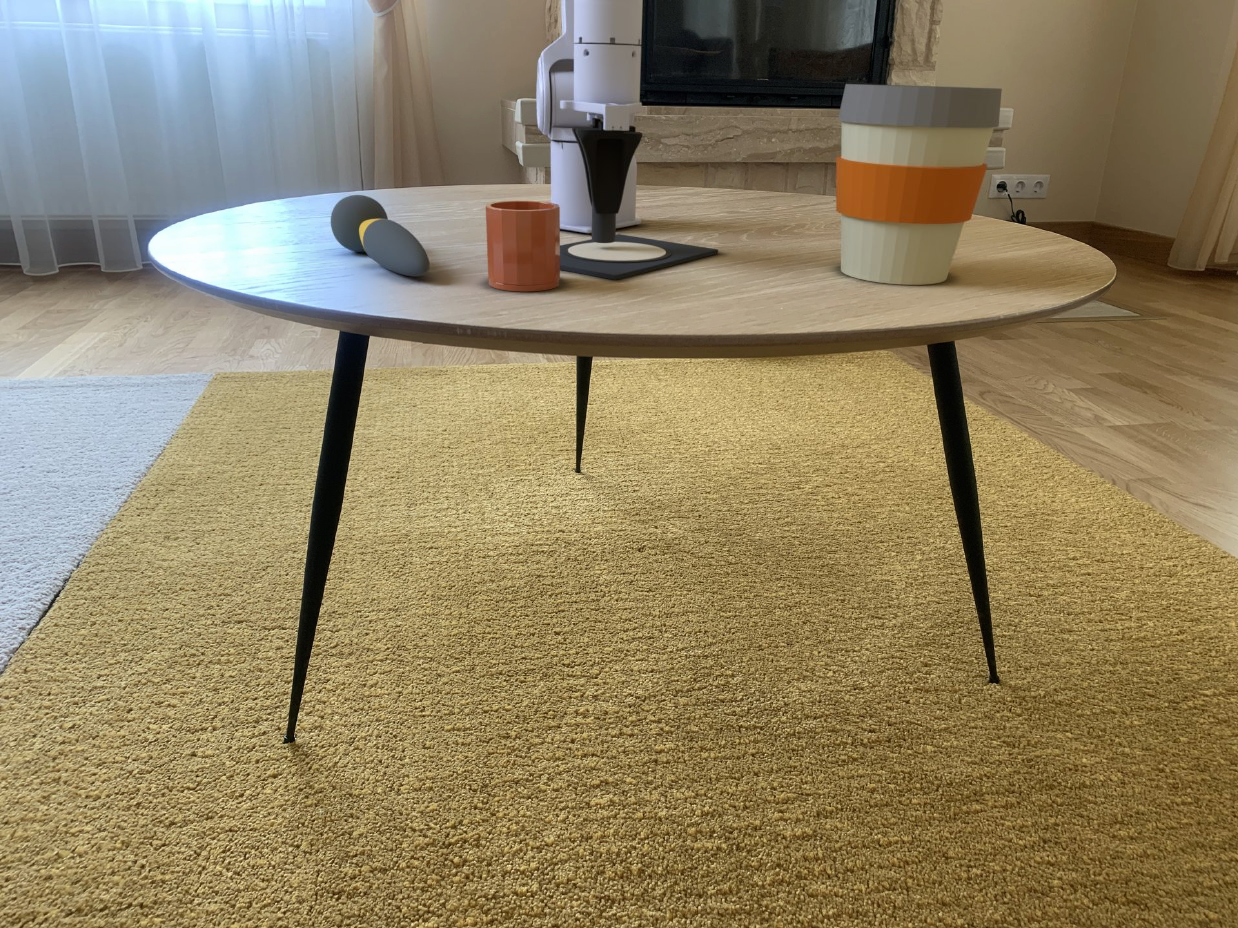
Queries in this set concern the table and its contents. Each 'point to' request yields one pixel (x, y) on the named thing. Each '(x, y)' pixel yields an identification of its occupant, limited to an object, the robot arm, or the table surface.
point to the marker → (603, 227)
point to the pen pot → (523, 245)
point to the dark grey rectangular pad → (626, 256)
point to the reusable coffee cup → (909, 176)
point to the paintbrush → (377, 236)
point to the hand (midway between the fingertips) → (604, 211)
